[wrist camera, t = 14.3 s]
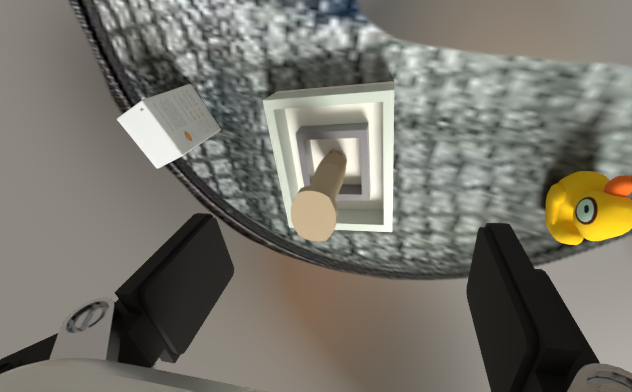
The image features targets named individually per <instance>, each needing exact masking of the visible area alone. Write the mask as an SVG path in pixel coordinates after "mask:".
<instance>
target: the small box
mask: <svg viewBox="0 0 632 392" xmlns="http://www.w3.org/2000/svg"><path fill="white" fill-rule="evenodd" d="M117 120H118V121H119V123H120V124H121V125H122V126H123V128H124V129H125V130H126V131H127V132H128V134H129V135H130V136H131V137H132V139H133V140H134V141H135V142H136V143H137V145H138V146H139V147H140V149H141V150H142V151H143V152H144V153H145V155H146V156H147V157H148V158H149V160H150V161H151V162H152V163H153V165H154V166H155V167H156V168H160V167H162V166H164V165H166V164H168V163H170V162H172V161H174V160H175V159H177V158H179V157H181V156H183V155H185V154H186V153H187V152H189V151H190V150H192V149H193V148H195V147H196V146H198V145H199V144H201V143H202V142H204V141H205V140H207V139H208V138H210V137H211V136H213V135H214V134H216V133H217V132H219V131H220V130H221V128H220V127H219V125H218V124H217V122H216V121H215V119H214V118H213V116H212V115H211V113H210V112H209V110H208V109H207V107H206V106H205V104H204V103H203V101H202V100H201V98H200V97H199V95H198V94H197V92H196V91H195V89H194V88H193V86H192V85H191V84H187V85H184V86H182V87H179V88H176V89H173V90H170V91H167V92H164V93H161V94H158V95H155V96H152V97H149V98H146V99H143V100H142V101H140V102H139V103H138V104H136V105H135V106H133V107H132V108H131V109H129V110H128V111H127V112H125V113H124V114H123V115H121V116H120V117H118V118H117Z"/></svg>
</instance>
